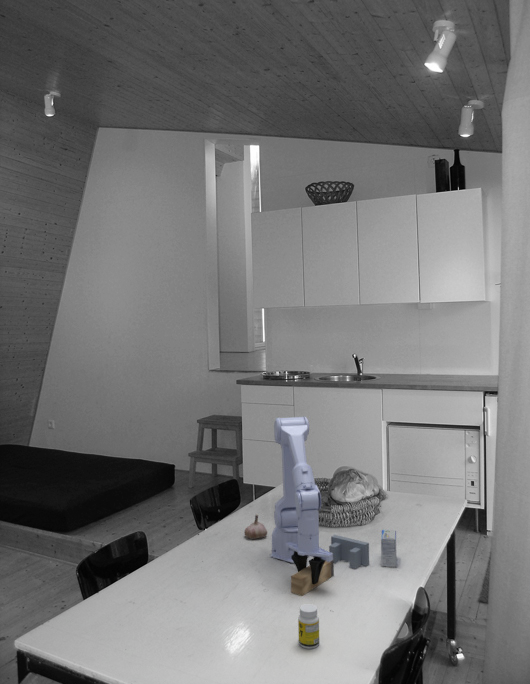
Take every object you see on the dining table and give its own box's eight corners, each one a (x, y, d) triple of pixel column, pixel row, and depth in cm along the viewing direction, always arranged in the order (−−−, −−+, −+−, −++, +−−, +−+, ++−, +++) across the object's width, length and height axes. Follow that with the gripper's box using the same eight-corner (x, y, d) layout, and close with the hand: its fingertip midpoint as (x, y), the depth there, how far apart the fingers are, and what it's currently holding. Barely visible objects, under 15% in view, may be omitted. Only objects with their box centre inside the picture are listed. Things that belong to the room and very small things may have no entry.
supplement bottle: (297, 638, 145) (296, 603, 145) (317, 637, 145) (316, 602, 145) (300, 650, 140) (299, 613, 140) (321, 648, 141) (320, 612, 140)
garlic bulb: (271, 536, 213) (270, 513, 212) (259, 543, 207) (259, 519, 206) (252, 532, 217) (252, 509, 216) (240, 539, 211) (240, 515, 210)
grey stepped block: (325, 560, 190) (324, 539, 190) (334, 555, 195) (334, 534, 194) (359, 570, 183) (359, 548, 183) (369, 564, 187) (368, 542, 187)
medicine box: (396, 568, 184) (396, 539, 184) (381, 567, 185) (380, 538, 185) (396, 557, 192) (396, 529, 192) (381, 556, 193) (381, 529, 193)
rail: (302, 595, 167) (301, 579, 167) (291, 592, 169) (291, 576, 169) (333, 575, 180) (333, 560, 179) (323, 572, 182) (323, 557, 182)
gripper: (278, 531, 174) (279, 579, 174) (322, 542, 165) (323, 593, 165) (293, 524, 179) (294, 571, 180) (336, 534, 170) (337, 583, 171)
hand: (309, 581), depth 173 cm, fingers closed on rail, 3 cm apart
